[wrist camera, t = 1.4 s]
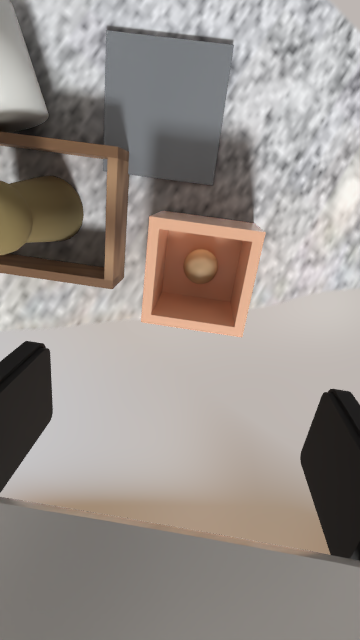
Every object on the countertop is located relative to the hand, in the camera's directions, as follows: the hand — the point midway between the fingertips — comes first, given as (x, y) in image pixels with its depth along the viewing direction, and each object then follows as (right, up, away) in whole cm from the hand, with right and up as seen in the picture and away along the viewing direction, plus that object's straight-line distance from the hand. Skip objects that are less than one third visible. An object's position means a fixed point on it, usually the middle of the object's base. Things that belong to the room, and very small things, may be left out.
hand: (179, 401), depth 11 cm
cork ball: (+2, +8, +18) cm, 20 cm away
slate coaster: (-1, +20, +16) cm, 26 cm away
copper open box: (+2, +9, +20) cm, 22 cm away
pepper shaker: (-12, +14, +20) cm, 27 cm away
